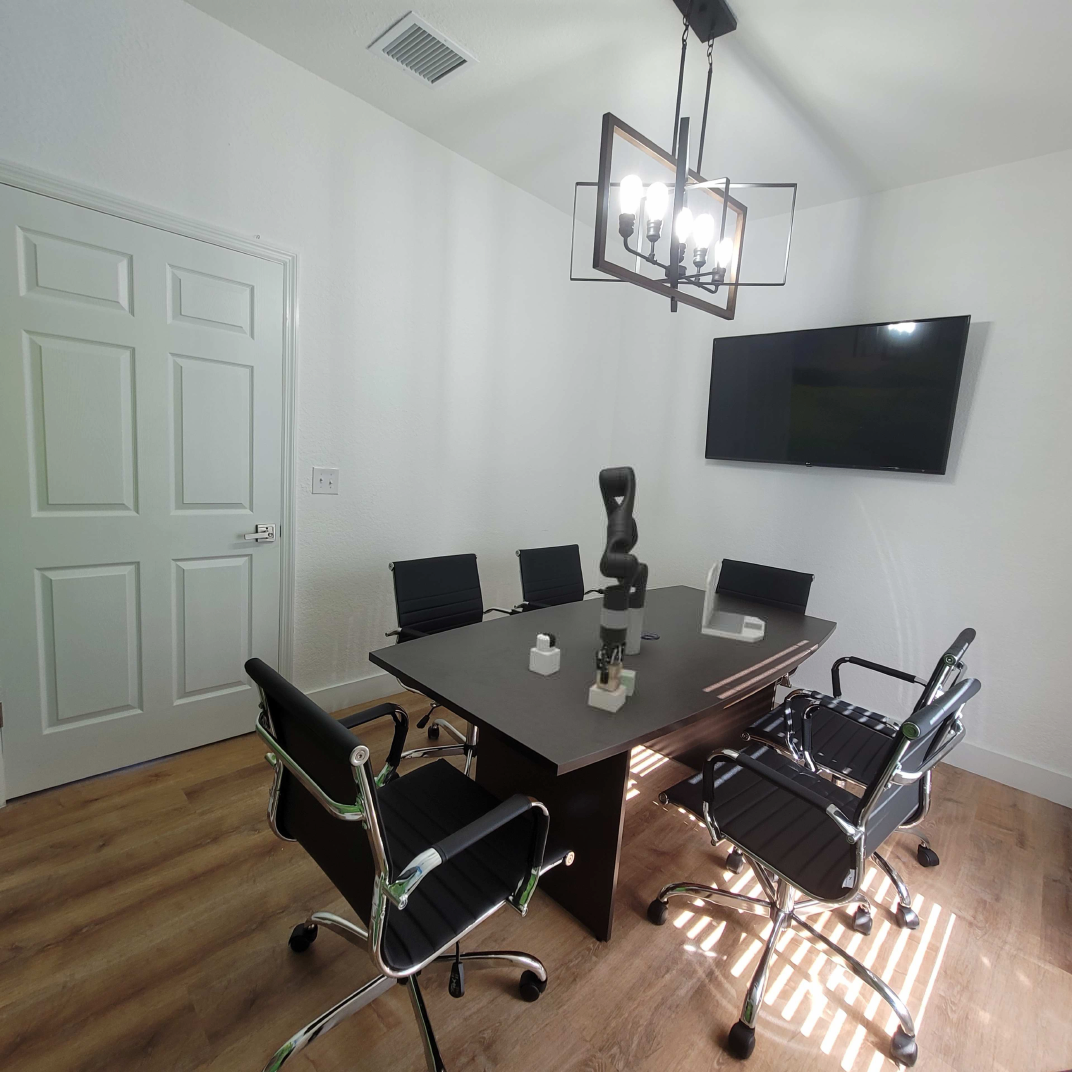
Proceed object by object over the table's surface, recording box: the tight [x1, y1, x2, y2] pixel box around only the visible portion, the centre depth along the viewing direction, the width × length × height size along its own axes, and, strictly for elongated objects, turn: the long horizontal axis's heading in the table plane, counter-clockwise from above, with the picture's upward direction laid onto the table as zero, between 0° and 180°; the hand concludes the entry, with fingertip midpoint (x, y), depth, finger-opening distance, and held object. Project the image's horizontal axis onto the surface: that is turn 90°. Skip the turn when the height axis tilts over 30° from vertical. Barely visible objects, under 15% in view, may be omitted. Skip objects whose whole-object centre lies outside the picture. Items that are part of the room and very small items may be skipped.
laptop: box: [701, 562, 766, 643], centre depth 236 cm, size 33×24×26 cm
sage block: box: [620, 668, 636, 697], centre depth 164 cm, size 5×5×6 cm
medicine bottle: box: [528, 632, 561, 677], centre depth 176 cm, size 7×7×12 cm
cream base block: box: [587, 682, 627, 713], centre depth 156 cm, size 8×8×5 cm
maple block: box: [595, 659, 623, 691], centre depth 155 cm, size 5×5×7 cm
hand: (608, 680), depth 155 cm, fingers open, 5 cm apart
